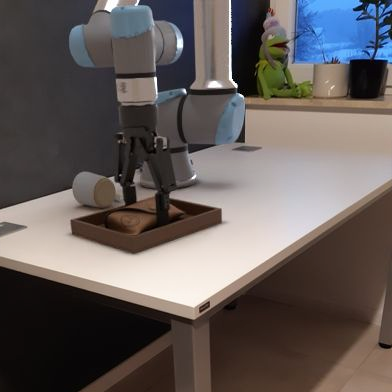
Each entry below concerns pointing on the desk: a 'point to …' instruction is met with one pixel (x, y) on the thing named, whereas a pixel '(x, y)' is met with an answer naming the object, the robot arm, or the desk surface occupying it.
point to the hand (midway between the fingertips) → (147, 221)
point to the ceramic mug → (94, 190)
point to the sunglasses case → (137, 217)
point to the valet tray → (181, 226)
